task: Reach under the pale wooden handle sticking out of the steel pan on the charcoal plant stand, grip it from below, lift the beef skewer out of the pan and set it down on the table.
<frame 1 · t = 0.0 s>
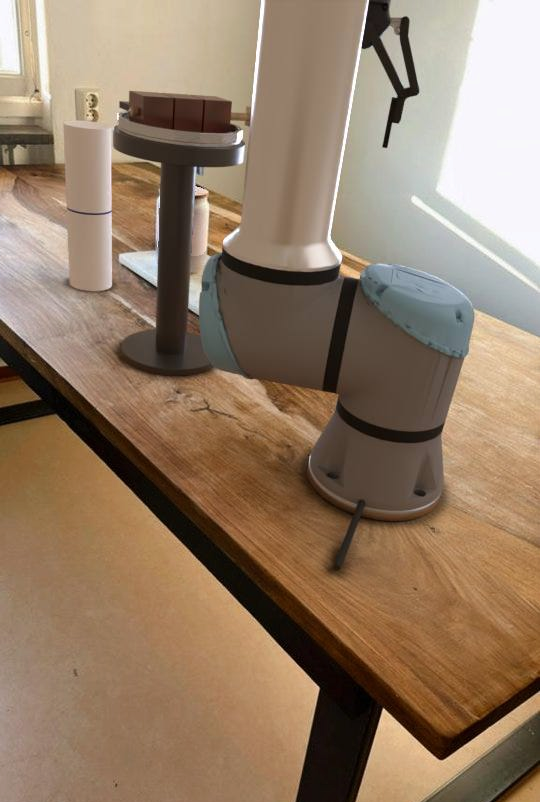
hand: (340, 139, 105), 28 cm above the table, tool pointing down, fingers open, 13 cm apart
plant stand: (170, 354, 100), on the table
french press: (178, 247, 145), on the table
beef skewer: (180, 131, 84), point 29 cm above the table, touching plant stand
cylindrical container: (91, 284, 120), on the table
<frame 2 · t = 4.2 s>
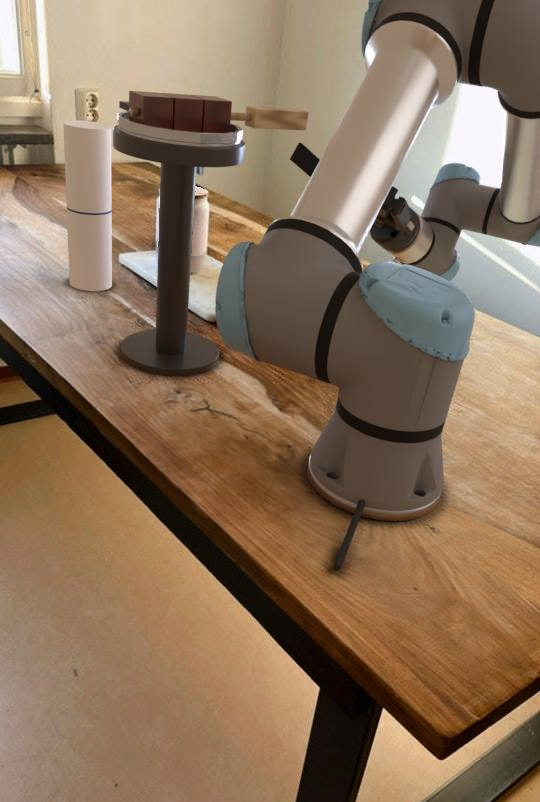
hand: (323, 161, 98), 26 cm above the table, tool pointing upward, fingers open, 13 cm apart
nothing on the table moved.
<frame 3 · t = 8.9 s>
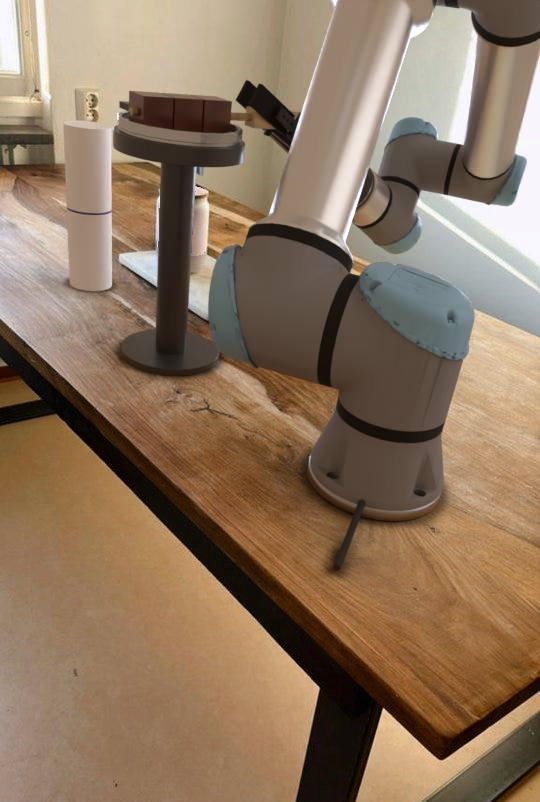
hand: (248, 92, 87), 34 cm above the table, tool pointing upward, fingers closed on beef skewer, 2 cm apart
beef skewer: (180, 131, 84), point 29 cm above the table, touching gripper, plant stand
everything else where it was.
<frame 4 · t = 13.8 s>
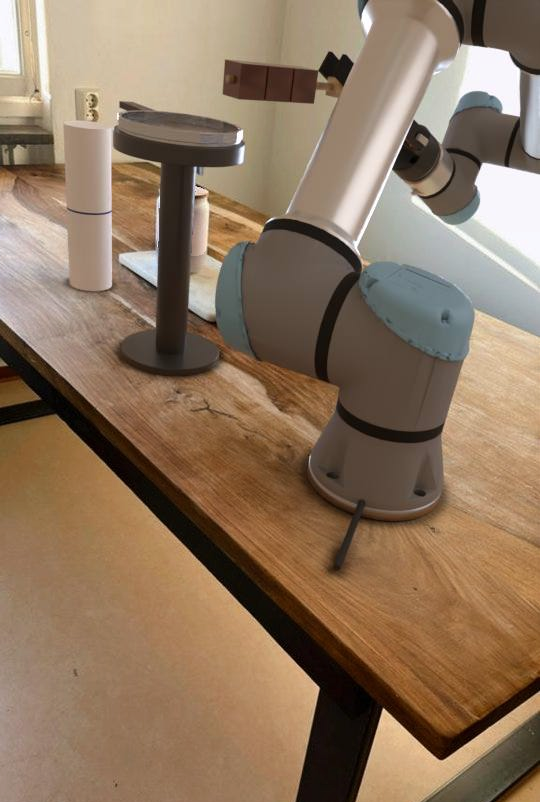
hand: (332, 63, 91), 38 cm above the table, tool pointing upward, fingers closed on beef skewer, 2 cm apart
beef skewer: (269, 99, 89), point 33 cm above the table, touching gripper
everything else where it was.
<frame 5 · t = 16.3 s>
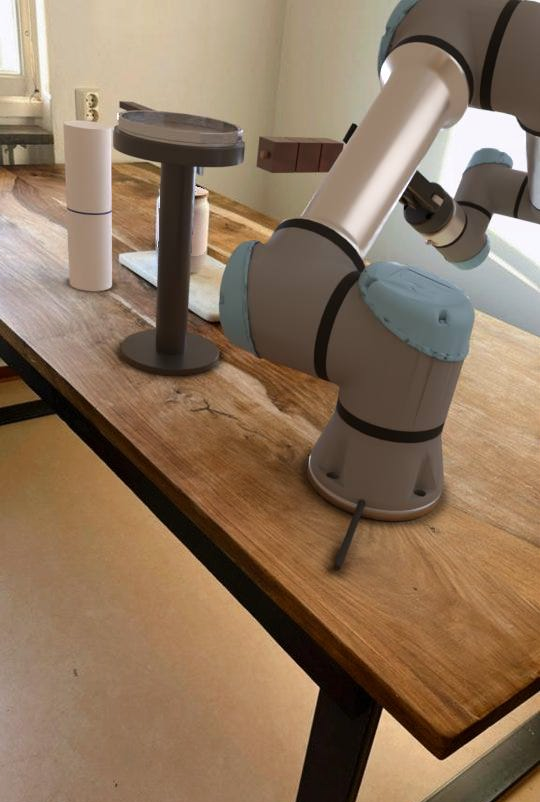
hand: (355, 134, 99), 30 cm above the table, tool pointing upward, fingers closed on beef skewer, 2 cm apart
beef skewer: (298, 169, 97), point 25 cm above the table, touching gripper
everything else where it was.
when the fingers open (22 cm above the table, at t = 18.5 s): beef skewer drops 18 cm, on the table.
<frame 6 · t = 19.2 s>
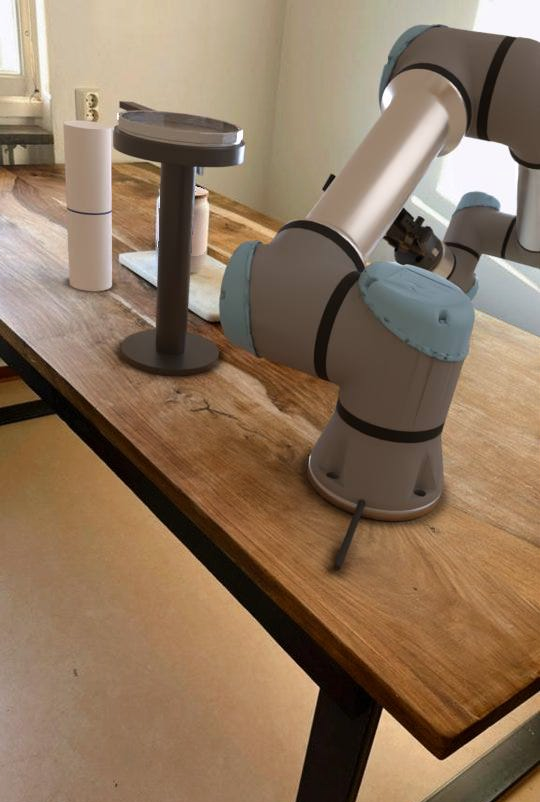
hand: (355, 192, 104), 22 cm above the table, tool pointing upward, fingers open, 13 cm apart
beef skewer: (276, 337, 111), on the table
everything else where it was.
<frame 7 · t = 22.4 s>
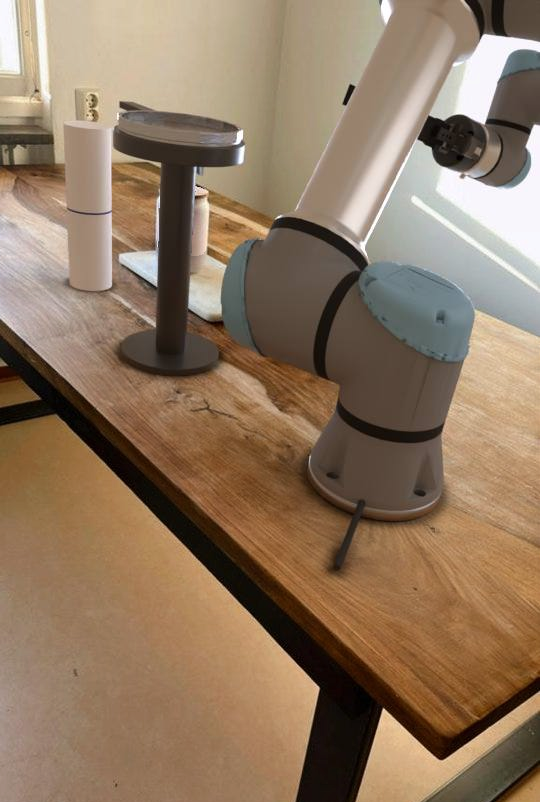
hand: (380, 108, 93), 34 cm above the table, tool horizontal, fingers open, 13 cm apart
nothing on the table moved.
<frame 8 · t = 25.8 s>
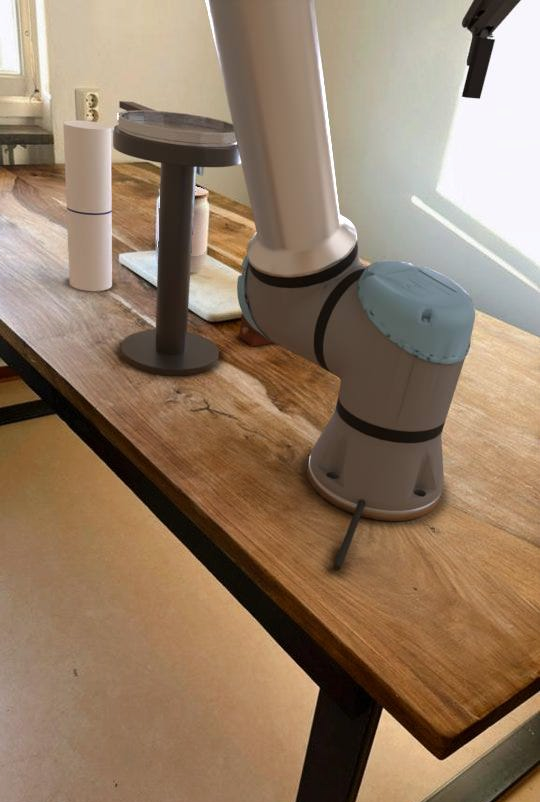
hand: (512, 107, 84), 37 cm above the table, tool pointing down, fingers open, 13 cm apart
nothing on the table moved.
at the end: beef skewer touching table; beef skewer inside the target area (0.2 cm from its centre), on the table; the gripper is holding nothing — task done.
